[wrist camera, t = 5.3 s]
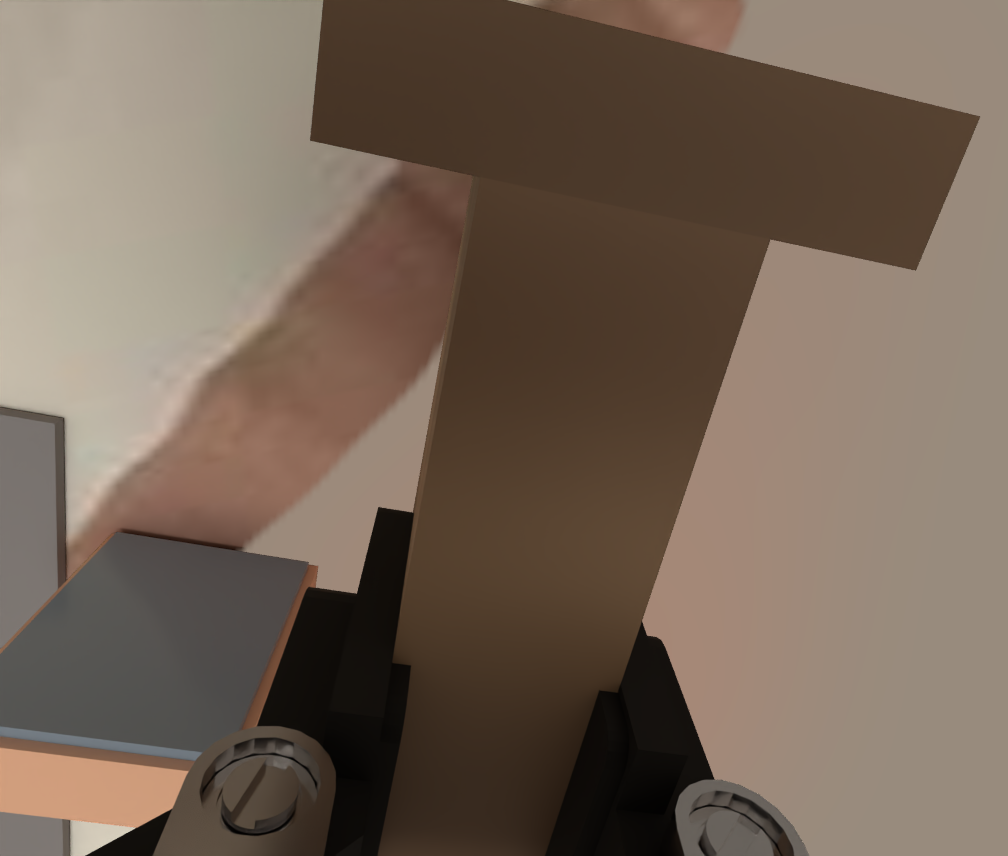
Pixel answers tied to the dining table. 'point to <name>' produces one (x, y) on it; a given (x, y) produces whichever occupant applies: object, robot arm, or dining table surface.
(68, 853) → the mat
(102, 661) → the tile
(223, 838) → the robot arm
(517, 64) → the wooden t-shaped block
